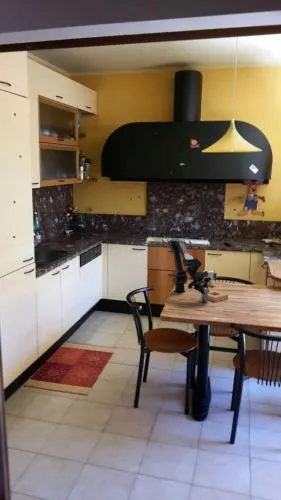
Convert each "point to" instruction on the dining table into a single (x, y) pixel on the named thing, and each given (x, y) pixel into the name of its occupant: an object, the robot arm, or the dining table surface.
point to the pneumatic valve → (211, 275)
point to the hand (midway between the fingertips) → (206, 293)
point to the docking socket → (216, 296)
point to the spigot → (205, 295)
